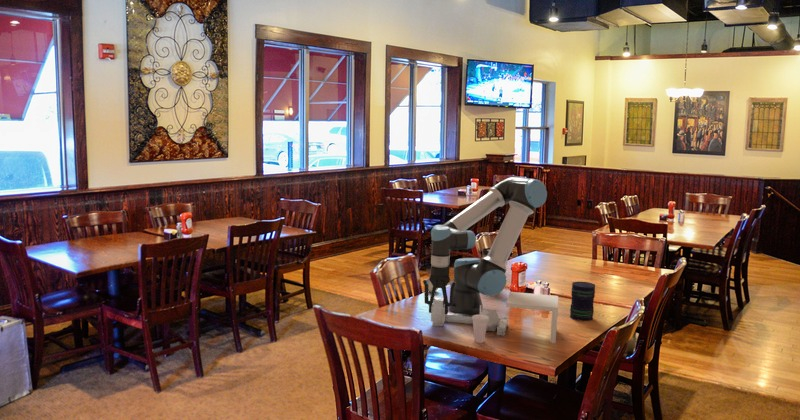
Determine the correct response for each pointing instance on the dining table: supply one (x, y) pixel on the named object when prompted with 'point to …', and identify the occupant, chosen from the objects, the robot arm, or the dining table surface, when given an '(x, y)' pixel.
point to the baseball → (430, 286)
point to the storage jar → (582, 301)
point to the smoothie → (479, 327)
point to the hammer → (459, 317)
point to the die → (491, 319)
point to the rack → (536, 306)
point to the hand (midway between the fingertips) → (438, 321)
